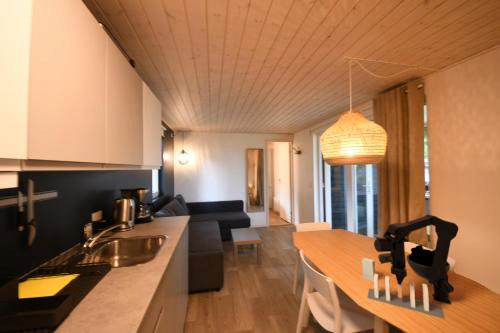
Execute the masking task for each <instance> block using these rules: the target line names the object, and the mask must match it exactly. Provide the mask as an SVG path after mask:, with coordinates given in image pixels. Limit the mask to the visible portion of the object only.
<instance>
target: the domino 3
mask: <svg viewBox="0 0 500 333" xmlns="http://www.w3.org/2000/svg"><path fill="white" fill-rule="evenodd" d="M396 284H397V286H396V287H397V295H398V297H399V298H402V297H403V291H402V290H403V289H402V284H401V285H399V284H398V282H397V281H396Z"/></svg>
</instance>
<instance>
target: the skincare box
mask: <svg viewBox="0 0 500 333" xmlns="http://www.w3.org/2000/svg"><path fill="white" fill-rule="evenodd" d="M361 266H362V278H363V280H367V281H369V282H372V283H374V274H376V264H375V259H371V258H367V257H362V259H361Z"/></svg>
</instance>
